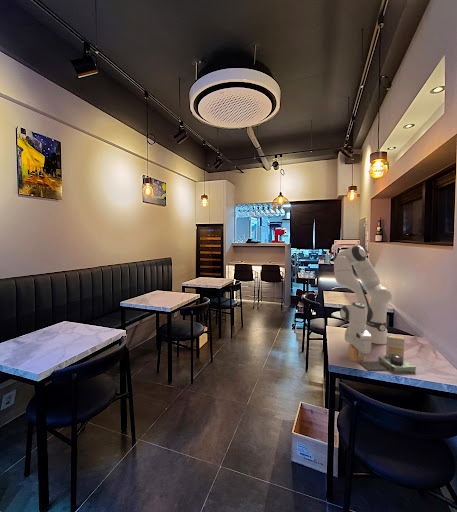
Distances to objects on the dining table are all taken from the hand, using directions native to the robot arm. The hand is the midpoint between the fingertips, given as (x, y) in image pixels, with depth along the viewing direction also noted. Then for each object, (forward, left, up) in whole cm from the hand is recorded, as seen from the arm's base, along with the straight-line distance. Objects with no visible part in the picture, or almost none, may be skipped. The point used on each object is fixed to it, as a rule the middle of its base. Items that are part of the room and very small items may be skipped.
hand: (356, 354), depth 144 cm
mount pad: (+9, +4, -3) cm, 10 cm away
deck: (+10, +17, -3) cm, 20 cm away
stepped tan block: (0, 0, -3) cm, 3 cm away
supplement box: (0, +24, -3) cm, 24 cm away
